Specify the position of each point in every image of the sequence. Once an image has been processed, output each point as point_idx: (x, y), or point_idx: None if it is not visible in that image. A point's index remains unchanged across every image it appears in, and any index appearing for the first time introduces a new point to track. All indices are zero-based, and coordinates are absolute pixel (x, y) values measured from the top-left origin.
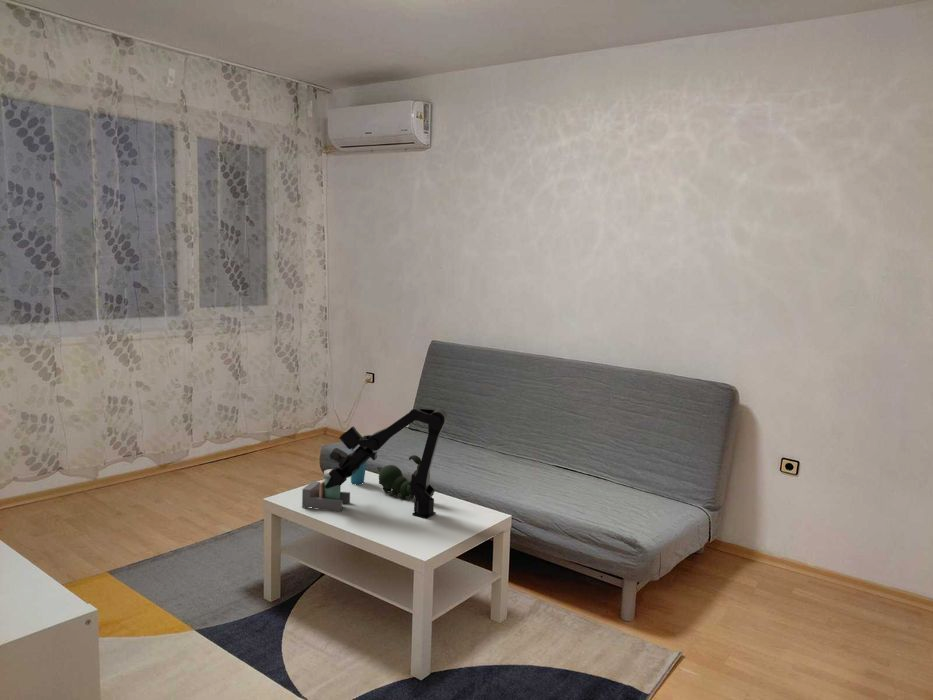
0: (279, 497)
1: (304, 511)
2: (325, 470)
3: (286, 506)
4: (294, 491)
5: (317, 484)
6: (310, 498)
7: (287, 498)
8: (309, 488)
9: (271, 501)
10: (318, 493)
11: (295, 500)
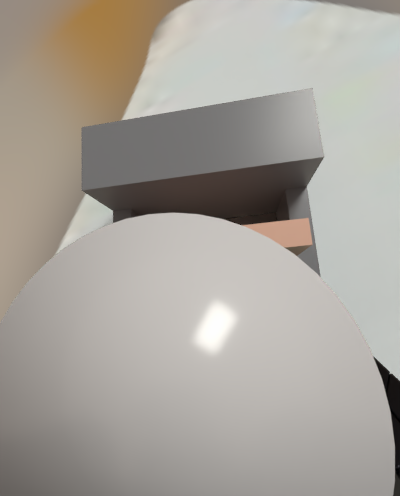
0: (241, 10)
1: (91, 224)
2: (171, 226)
3: (131, 110)
4: (367, 15)
5: (250, 168)
6: (114, 214)
7: (242, 49)
8: (114, 166)
9: (173, 14)
10: (271, 197)
11: (228, 99)
